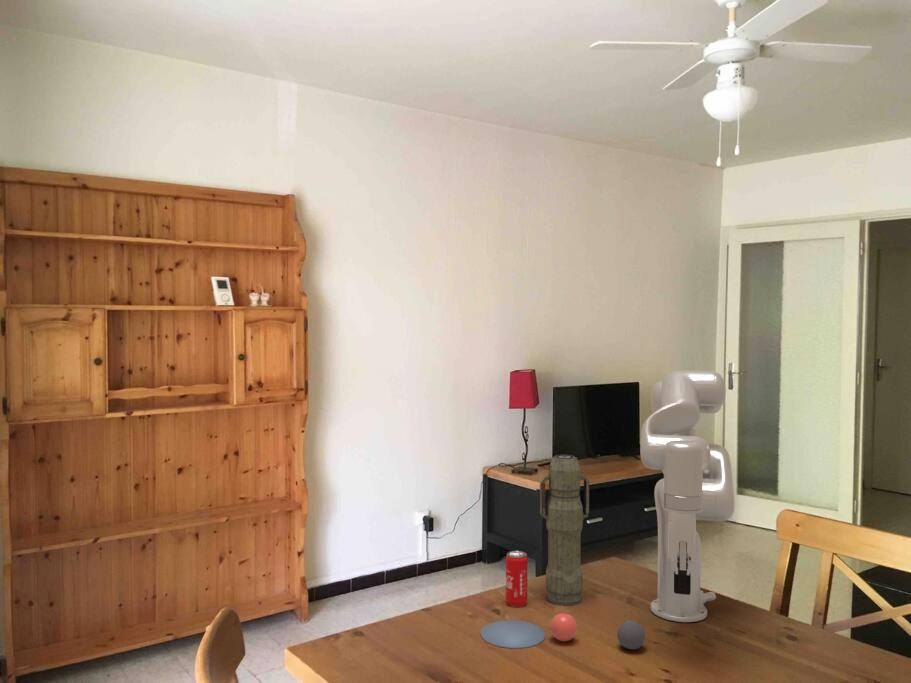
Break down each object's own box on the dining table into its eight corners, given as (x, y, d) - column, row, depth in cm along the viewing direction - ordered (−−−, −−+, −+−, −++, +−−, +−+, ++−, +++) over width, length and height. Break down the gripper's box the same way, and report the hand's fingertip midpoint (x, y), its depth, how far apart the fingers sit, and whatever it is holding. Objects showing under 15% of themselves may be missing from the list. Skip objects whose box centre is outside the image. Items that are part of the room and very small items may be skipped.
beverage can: (526, 608, 174) (526, 558, 173) (504, 606, 175) (504, 556, 174) (528, 600, 179) (528, 551, 178) (507, 598, 180) (507, 550, 179)
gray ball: (633, 640, 156) (633, 614, 156) (650, 651, 151) (650, 624, 151) (611, 645, 154) (611, 618, 154) (628, 656, 149) (628, 629, 149)
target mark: (525, 617, 169) (525, 616, 169) (557, 641, 156) (557, 640, 156) (469, 627, 163) (469, 626, 163) (498, 653, 150) (498, 652, 150)
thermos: (535, 593, 183) (535, 454, 182) (579, 590, 185) (580, 452, 184) (546, 607, 174) (547, 460, 173) (593, 603, 177) (594, 458, 176)
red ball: (567, 632, 160) (567, 607, 160) (582, 643, 155) (582, 616, 155) (545, 637, 158) (545, 611, 158) (559, 647, 153) (559, 621, 152)
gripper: (663, 493, 157) (663, 579, 157) (663, 509, 142) (662, 603, 143) (700, 496, 155) (700, 583, 155) (704, 512, 140) (703, 607, 140)
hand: (682, 592), depth 149 cm, fingers closed
